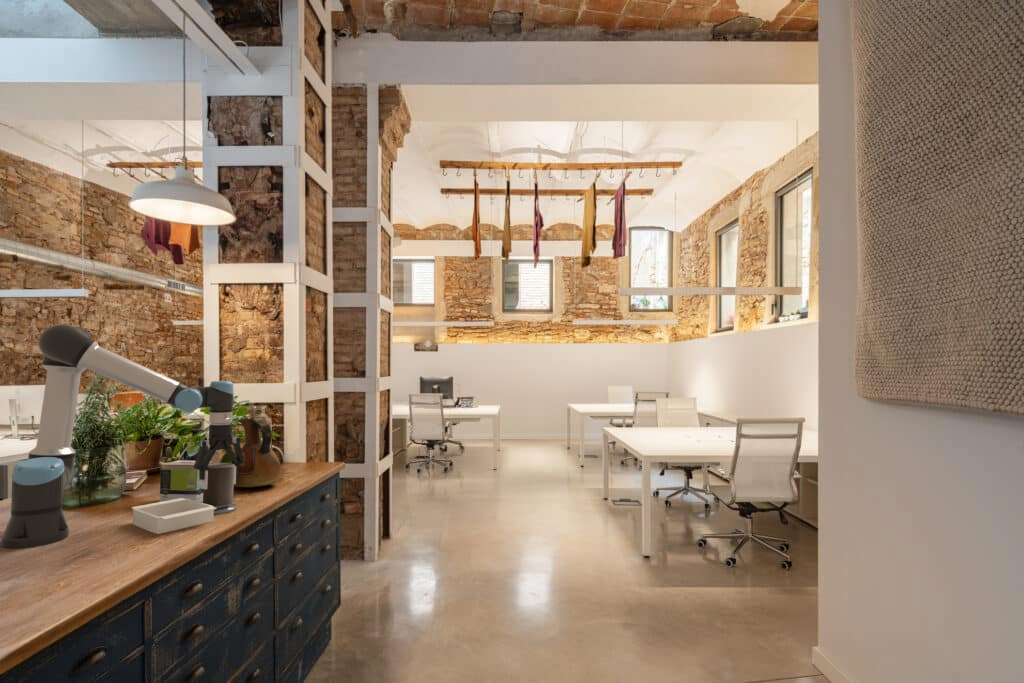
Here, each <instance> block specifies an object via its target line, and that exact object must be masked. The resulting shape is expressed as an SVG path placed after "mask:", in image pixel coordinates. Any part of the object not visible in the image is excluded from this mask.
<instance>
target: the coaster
mask: <svg viewBox="0 0 1024 683" xmlns="http://www.w3.org/2000/svg"><path fill="white" fill-rule="evenodd" d="M215 508H217V509H214V515H215V516H216V515H223V514H228V513H231V512H235V511H236V510H237V509H238V505H237V504H236V503H231V504H229V505H224V506H216V507H215Z"/></svg>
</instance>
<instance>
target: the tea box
mask: <svg viewBox="0 0 1024 683" xmlns="http://www.w3.org/2000/svg"><path fill="white" fill-rule="evenodd" d="M195 461H196V460H174V461H170V462H167V463H161V464H160V473H159V474H160V478H159V479H160V480H159V502H163V501H168V500H173V499H179V498H184V499H190V500H194V501H197V502H201V503H203V489H202V488H201V481H202V480H200V479H199V470H198V469H194V464H195ZM209 464H214V460H211V461H210V462H209ZM209 464H208V465H209Z"/></svg>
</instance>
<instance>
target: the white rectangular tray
mask: <svg viewBox="0 0 1024 683" xmlns="http://www.w3.org/2000/svg"><path fill="white" fill-rule="evenodd" d="M130 509H132V525H133V524H134V525H133V526H135V525H136V526H135V527H137V526H138V528H139V529H144V530H145V531H147V532H151V533H153V534H156V535H160V534H163V533H168V532H174V531H178V530H181V529H187V528H191V527H194V526H199V525H203V524H209V523H212V522H214V509H217V508H215V507H214V506H211V505H208V504H204V503H203V502H197V501H194V500H190V499H184V498H179V499H173V500H168V501H163V502H160V501H159V502H153V503H147V504H143V505H136V506H132V507H130Z"/></svg>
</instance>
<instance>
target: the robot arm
mask: <svg viewBox="0 0 1024 683" xmlns="http://www.w3.org/2000/svg"><path fill="white" fill-rule="evenodd" d="M37 342H38V348H39V350H40V352H41V354H43V358H42V364H41V365H42V366H41V367H42V368H44V369H45V370H46V378H45V385H44V386H45V387H44V391H43V392H44V393H43V400H42V406H41V412H40V413H41V414H40V420H39V424H38V426H39V427H38V432H37V433H38V434H37V440H36V445H35V447H34V448H32V449H31V450H29V452H28V456H27V457H28V458H27V459H25V460H22V461H19V462H18V463H16V464H15V465H14V467H13V469H12V473H11V479H12V480H11V501H10V502H11V504H10V506H11V507H10V518H9V520H8V522H7V524H6V526H5V529H4V531H3V533H2V536H1V545H0V546H1V547H4V548H8V549H9V548H10V549H20V548H31V547H38V546H44V545H47V544H48V545H49V544H51V543H55V542H58V541H62V540H64V539H66V538H67V537H68V536H69V530H70V529H69V525H68V523H67V520H66V518H65V515H64V512H63V498H64V497H63V496H64V489H66V488H68V486H69V485H70V484H71V483H72V482H73V480H74V479H75V476H76V470H77V469H76V466H75V460H76V459H75V458H76V450H75V449H74V448H73V447H72V440H73V439H72V438H73V433H74V432H73V431H74V426H75V418H76V411H77V403H78V397H79V390H80V383H81V376H82V373H83V372H85V371H86V370H89V371H92V372H94V373H96V374H99V375H102V376H103V377H106V378H108V379H111V380H113V381H115V382H118V383H119V384H121V385H125V386H127V387H129V388H132V389H134V390H137V391H138V392H141V393H143V394H145V395H147V396H150V397H152V398H155V399H157V400H160V401H162V402H164V403H166V404H168V405H170V407H171V408H172V409H178V410H180V411H181V412H185V413H191V412H194V411H196V410H198V409H201V408H202V409H203V408H204V409H208V408H209V413H208V414H209V416H208V417H209V418H208V422H209V425H208V439H206V440H200V441H199V442H198V444H199V447H198V452H197V454H196V459H195V460H194V461H195V464H194V469H198V470H199V479H200V480H202V481H201V488H202V489H207V486H208V470H206V468H207V466H208V464H209V462H210V461H212V459H213V456H215V453H217V451H221V450H223V451H225V453H226V455H227V457H228V458H229V461H230V463H231V464H235V466H234V484H236V474H238V466H240V464H241V463H243V462H244V460H243V455H242V451H241V448H242V447H241V437H239V436H234V437H233V424H232V423H233V420H234V419H233V416H234V415H233V413H234V412H233V410H234V383H233V382H232V381H230V380H229V381H228V380H219V381H217V380H214V381H211V382H210V383H209V384H210V385H209V386H188V385H186V384H184V383H182V382H179V381H177V380H175V379H172V378H170V377H169V376H166V375H164V374H162V373H160V372H157V371H156V370H153V369H151V368H149V367H146V366H144V365H142V364H140V363H137V362H135V361H133V360H130V359H128V358H126V357H124V356H122V355H120V354H117V353H115V352H113V351H111V350H108V349H107V348H104V347H102V346H100V345H99V342H98V341H97V340H95V339H93V338H92V336H91V335H90V334H89V332H88V331H87V330H85V329H84V328H82V327H79V326H74V325H69V324H64V323H62V324H61V323H59V324H54V325H51V326H49V327H48V328H46V329H44V330H43V332H41V334H40V335H39V338H38V341H37ZM231 444H232V445H233V448H232V446H231ZM208 446H209V448H208V449H207V447H208ZM233 449H234V451H233ZM206 451H207V452H206ZM235 456H236V457H235Z"/></svg>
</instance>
